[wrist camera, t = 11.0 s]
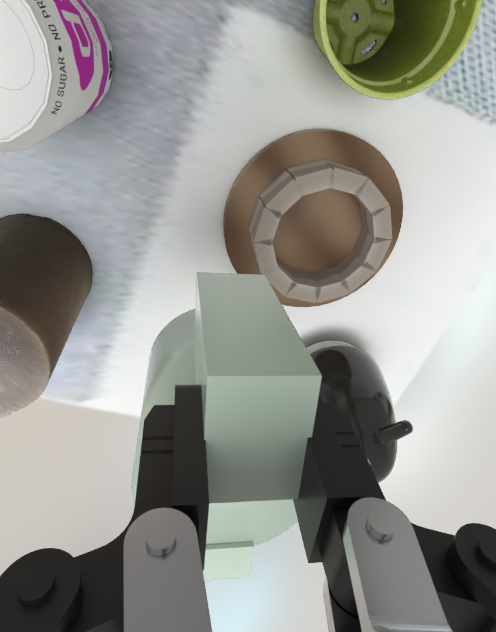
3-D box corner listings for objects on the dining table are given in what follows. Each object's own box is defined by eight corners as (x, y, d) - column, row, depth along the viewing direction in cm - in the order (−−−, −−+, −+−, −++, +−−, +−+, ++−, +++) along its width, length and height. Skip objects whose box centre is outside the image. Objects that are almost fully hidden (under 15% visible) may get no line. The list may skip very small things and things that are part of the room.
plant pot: (261, 4, 30) (286, -11, 23) (374, -108, 28) (442, -165, 21) (333, 116, 35) (373, 133, 27) (436, 27, 32) (509, 19, 25)
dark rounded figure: (386, 346, 48) (461, 455, 35) (329, 409, 52) (378, 528, 39) (314, 309, 44) (368, 415, 31) (259, 380, 48) (286, 500, 35)
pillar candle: (59, 198, 35) (-16, 279, 23) (111, 297, 40) (74, 409, 28) (-51, 233, 36) (-184, 333, 23) (15, 326, 41) (-66, 450, 28)
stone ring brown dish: (326, 82, 33) (343, 85, 30) (428, 221, 41) (452, 238, 37) (185, 226, 38) (185, 244, 34) (300, 328, 45) (310, 352, 41)
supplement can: (79, -40, 28) (-10, -118, 15) (134, 96, 32) (101, 125, 20) (-37, 4, 28) (-217, -36, 16) (33, 133, 33) (-64, 184, 20)
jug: (268, 434, 24) (334, 671, 13) (149, 437, 23) (122, 696, 12) (290, 246, 20) (410, 375, 9) (147, 240, 19) (103, 376, 8)
